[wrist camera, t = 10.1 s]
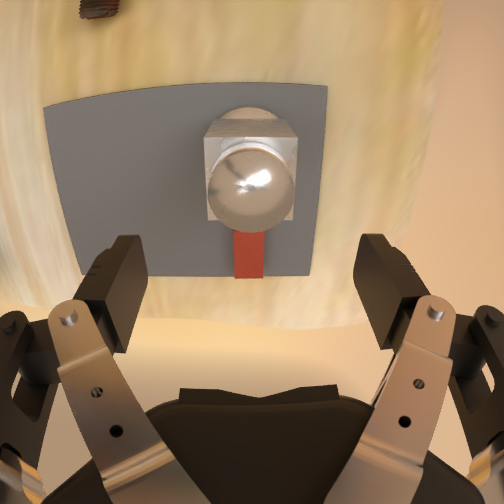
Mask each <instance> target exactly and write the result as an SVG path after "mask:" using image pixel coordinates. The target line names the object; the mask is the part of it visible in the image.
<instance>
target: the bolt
mask: <svg viewBox="0 0 504 504" xmlns="http://www.w3.org/2000/svg"><path fill="white" fill-rule="evenodd" d="M117 2H119V0H81V1H80V3H81V4H80V7H81V8H80V9H79V10H80V12H79V14H80V18H81V19H83V18H87V19H96V18H103V17H110V16H114V15H115V14H116V13H117V12H118V11H116V10H117V9H118V7H117V6H118V5H119V4H118V3H117Z"/></svg>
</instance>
